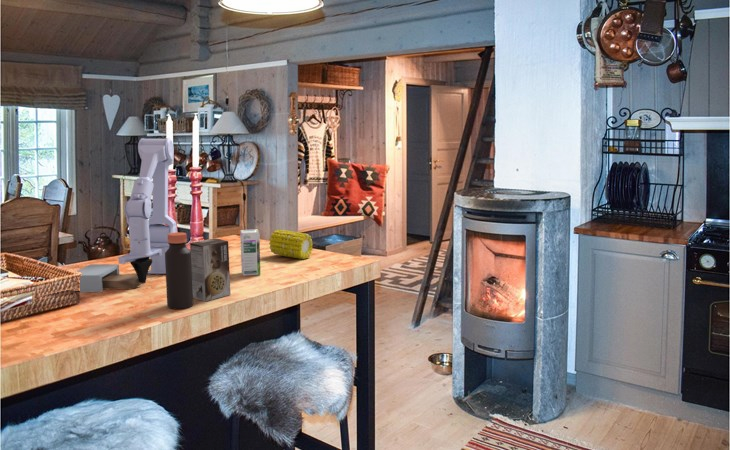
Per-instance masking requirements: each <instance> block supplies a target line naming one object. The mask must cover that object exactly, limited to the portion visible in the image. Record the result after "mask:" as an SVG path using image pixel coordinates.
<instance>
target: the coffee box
mask: <svg viewBox="0 0 730 450" xmlns="http://www.w3.org/2000/svg"><path fill="white" fill-rule="evenodd" d="M189 247H190V248H189V250H190V251H191V264H192V289H193V299H197V300H200V301H203V302H208V301H212V300H216V299H219V298H224V297H227V296H230V295H231V276H230V275H231V274H230V252H229V248H230V247H229V241H228V240H224V239H221V238H216V237H215V238H210V239H205V240H198V241H192V242H190V243H189Z"/></svg>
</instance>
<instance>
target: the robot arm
mask: <svg viewBox="0 0 730 450" xmlns="http://www.w3.org/2000/svg"><path fill="white" fill-rule="evenodd" d="M137 150H138V154H139V157H140V159H141V162H140V163H141V164H140V170H139V175H138V176H139V177H138V178H136V179H135V180H134V182H133V186H132V190H131V193H130V198H129V199H128V200H126V202H125V204H124V209H123V210H124V215H125V218H126V223H127V225H128V233H129V235H128V236H129V247H130V249H129V250H130V252H129V253H126V254H123V255H122V256H118V264H120V265H121V264H122V265H124V264H128V263H130V264H131V266H132V268H133V270H134V271H135V273H136V274H135V275H137V276H138V278H139V283H143V284H146V282H147V277H148V274H150V275H151V274H153V275H157V274H158V275H159V274H160V275H166V269H165V252H166V251H167V250H168V249H169V244H168V234H170V233H177V232H178V228H177V227H178V226H177V222H176V220H174V218H172V217H171V216H170V215H169V167H170V166H172V165H173V164H174V159H175V158H174V157H175V156H174V155H175V154H174V153H175V151H174V143H173V141H172V140H171V138H169V137H168V138H142V137H141V138H140V139H139V141H138V145H137ZM151 199H152V200H151ZM151 214H152V216H151Z"/></svg>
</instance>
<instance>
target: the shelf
mask: <svg viewBox="0 0 730 450" xmlns="http://www.w3.org/2000/svg"><path fill="white" fill-rule="evenodd" d="M76 271H77V272H81V273H82V276H80V278H79V280H80V292H79V293H101V292H102V291H103V289H104V288H102V277H104V276H105V275H107V274H120V265H119V264H116V263H115V264H106V263H105V264H102V263H101V264H97V263H94V264H93V263H92V264H88V265H87V266H84V267H83V268H80V269H79V270H76Z"/></svg>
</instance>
